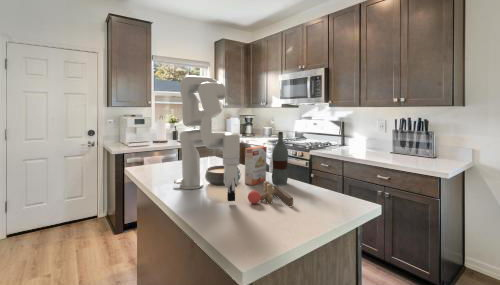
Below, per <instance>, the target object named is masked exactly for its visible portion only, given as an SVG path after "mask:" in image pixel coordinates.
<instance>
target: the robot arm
mask: <svg viewBox="0 0 500 285" xmlns="http://www.w3.org/2000/svg"><path fill="white" fill-rule="evenodd" d="M179 93H180V96H181V100H182V101H181V102H182V104H181V106H182V108H181V109H182V110H181V111H182V112H181V114H182V116H181V117H182V124H183V125H184V126H185V127H189V128H191V127H192V128H191V129H185V130H183V131H181V132H180V134H179V141H180V143H179V144H180V148H181V168H182V169H181V171H182V174H181V175H182V177H181V178H179V179H174V180H173V182H174V184H176V185H179V188H180V189H184V190H197V189H201V188H202V187H203V186H204V183H203V182H201V158H200V157H201V156H200V153H199V150H198V149H197V147H204V146H205V148H206V149H209V150H214V149H215V150H216V149H222V165H223V184H224V185H225V187H226V188H227V201H228V202H235V201H236V188H238V186H239V168H238V167H239V165H240V160H241V159H240V158H241V156H240V152H241V149H240V147H241V146H240V145H241V144H240V142H241V140H240V135H239V133H235V132H234V133H231V132H229V131H212V130H213V129H212V128H213V127H212V126H213V125H212V121H213V120H212V119H214V118H216V117H218V116H220V115H221V113H222V110H223V109H222V106H221V102H220V101H221V100H225V98H226V97H227V88H226V86H225V84H224V83H222V82H220V81H219V80H217V79H215V78H213V77H210V76H202V75H201V76H200V75H185V76H183V77H182V78H181V80H180V83H179ZM195 93H196V94H197V93H198V96H199V99H200V103H201V107H202V108H199V107H200V106H199V99H198V97H197V95H196V94H195ZM194 127H195V128H194ZM197 127H199V128H197Z"/></svg>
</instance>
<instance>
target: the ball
mask: <svg viewBox="0 0 500 285" xmlns="http://www.w3.org/2000/svg"><path fill="white" fill-rule="evenodd" d="M261 195H262V194H261V193H260V192H259V191H258V190H251V191H250V192H248V195H247V200H248V202H249V203H250V204H252V205H256V204H259V203H260V202H261V201H260V199H261Z"/></svg>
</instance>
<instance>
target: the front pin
mask: <svg viewBox="0 0 500 285" xmlns="http://www.w3.org/2000/svg"><path fill="white" fill-rule="evenodd" d="M275 192H276V190H275V188H274V187H272V195H275V194H274V193H275ZM260 195H261V199H260V201H259V202H264V201H265V200H264V199H266V198H267V192H266V193H264V192H263V194H260Z"/></svg>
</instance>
